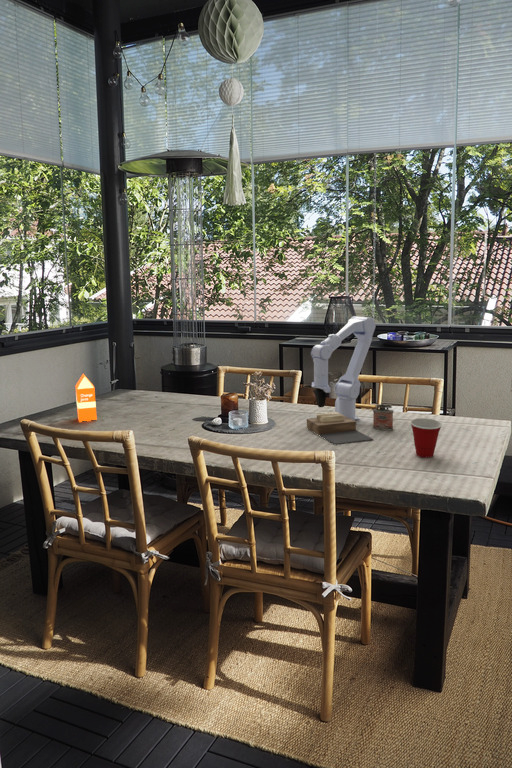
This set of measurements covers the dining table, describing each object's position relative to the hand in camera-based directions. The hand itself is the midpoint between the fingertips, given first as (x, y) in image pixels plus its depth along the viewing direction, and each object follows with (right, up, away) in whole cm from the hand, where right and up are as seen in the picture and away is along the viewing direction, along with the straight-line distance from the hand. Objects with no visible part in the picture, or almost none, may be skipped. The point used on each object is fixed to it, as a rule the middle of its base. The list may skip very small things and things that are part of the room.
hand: (321, 406), depth 274 cm
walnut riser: (+3, -9, -7) cm, 12 cm away
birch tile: (+3, -5, -7) cm, 9 cm away
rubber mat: (+8, -11, -20) cm, 24 cm away
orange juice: (-101, -6, +20) cm, 103 cm away
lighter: (+24, -9, -7) cm, 26 cm away
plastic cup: (+32, -16, -44) cm, 56 cm away
